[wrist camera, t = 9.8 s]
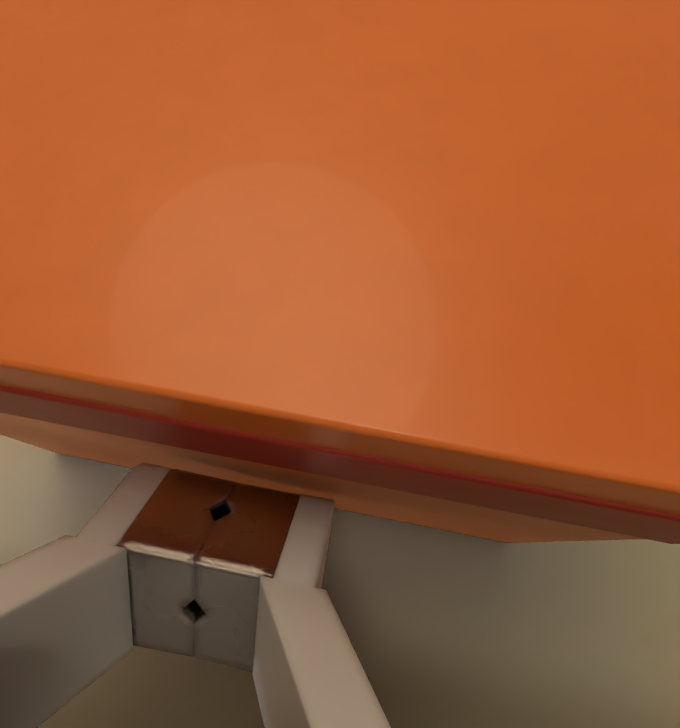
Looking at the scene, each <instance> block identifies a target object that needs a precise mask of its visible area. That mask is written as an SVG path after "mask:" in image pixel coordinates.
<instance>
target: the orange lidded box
mask: <svg viewBox="0 0 680 728" xmlns="http://www.w3.org/2000/svg"><path fill="white" fill-rule="evenodd" d="M0 435H4V436H7V437H10V438H13V439H16V440H19V441H22V442H25V443H28V444H31V445H34V446H37V447H40V448H43V449H46V450H49V451H52V452H55V453H60V454H65V455H70V456H75V457H80V458H85V459H90V460H95V461H100V462H105V463H110V464H115V465H120V466H125V467H130V468H133V467H135V466H136V465H138V464H140V463H142V462H144V463H149V464H153V465H158V466H162V467H167V468H171V469H179V470H183V471H188V472H192V473H197V474H201V475H206V476H210V477H215V478H219V479H224V480H228V481H233V482H237V483H242V484H248V485H253V486H258V487H263V488H269V489H274V490H279V491H285V492H290V493H295V494H300V495H302V494H304V495H310V496H316V497H321V498H327V499H333V500H334V502H335V506H334V508H336V509H341V510H346V511H351V512H356V513H361V514H366V515H371V516H376V517H381V518H386V519H391V520H396V521H401V522H406V523H411V524H416V525H421V526H426V527H431V528H436V529H441V530H446V531H451V532H456V533H461V534H466V535H471V536H476V537H481V538H486V539H491V540H496V541H501V542H507V543H516V542H552V541H589V540H625V539H649V540H654V541H659V542H665V543H670V544H680V0H0Z"/></svg>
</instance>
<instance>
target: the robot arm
mask: <svg viewBox="0 0 680 728" xmlns="http://www.w3.org/2000/svg"><path fill="white" fill-rule="evenodd" d="M334 506H335V502H334V500H333V499H327V498H321V497H316V496H310V495H304V494H302V495H300V494H295V493H290V492H285V491H279V490H274V489H269V488H263V487H258V486H253V485H248V484H242V483H237V482H233V481H228V480H224V479H219V478H215V477H210V476H206V475H201V474H197V473H192V472H188V471H183V470H179V469H171V468H167V467H162V466H158V465H153V464H149V463H144V462H142V463H140V464H138V465H136V466H135V467H133V468H132V470H131V471H130V472H129V473H128V475H127V476H126V477H125V478H124V479H123V481H122V482H121V483H120V484H119V486H118V487H117V488H116V489H115V490H114V492H113V493H112V494H111V495H110V497H109V498H108V499H107V500H106V501H105V503H104V504H103V505H102V506H101V507H100V509H99V510H98V511H97V512H96V514H95V515H94V516H93V517H92V518H91V520H90V521H89V522H88V523H87V525H86V526H85V527H84V528H83V529H82V531H81V532H80V533H79V534H78V536H77V537H72V536H66V535H65V536H63V537H61V538H59V539H57V540H54V541H52V542H50V543H48V544H46V545H44V546H41V547H39V548H37V549H35V550H33V551H31V552H28V553H26V554H24V555H22V556H20V557H18V558H15V559H13V560H11V561H9V562H7V563H5V564H2V565H0V728H36V727H38V726H39V725H40V724H41V723H43V722H44V721H45V720H46V719H48V718H49V717H50V716H51V715H53V714H54V713H55V712H56V711H58V710H59V709H60V708H61V707H63V706H64V705H65V704H66V703H67V702H69V701H70V700H71V699H72V698H74V697H75V696H76V695H77V694H79V693H80V692H81V691H82V690H84V689H85V688H86V687H87V686H89V685H90V684H91V683H92V682H94V681H95V680H96V679H97V678H98V677H100V676H101V675H102V674H103V673H105V672H106V671H107V670H108V669H110V668H111V667H112V666H113V665H115V664H116V663H117V662H118V661H120V660H121V659H122V658H123V657H125V656H126V655H127V654H128V653H129V652H131V651H132V650H133V645H134V646H140V647H145V648H150V649H155V650H161V651H166V652H171V653H176V654H181V655H187V656H192V657H196V658H200V659H204V660H208V661H212V662H216V663H220V664H224V665H228V666H232V667H235V668H239V669H243V670H247V671H251V672H253V680H254V684H255V688H256V693H257V697H258V701H259V706H260V710H261V714H262V719H263V723H264V727H265V728H391V727H390V724H389V722H388V720H387V718H386V716H385V714H384V712H383V710H382V707H381V705H380V703H379V701H378V699H377V697H376V695H375V693H374V690H373V688H372V686H371V684H370V682H369V680H368V678H367V676H366V673H365V671H364V669H363V667H362V665H361V663H360V661H359V659H358V656H357V654H356V652H355V650H354V648H353V646H352V644H351V642H350V639H349V637H348V635H347V633H346V631H345V629H344V627H343V625H342V622H341V620H340V618H339V616H338V614H337V612H336V610H335V608H334V605H333V603H332V601H331V599H330V597H329V595H328V593H327V591H326V590H324V589H321V586H322V580H323V575H324V569H325V563H326V557H327V551H328V545H329V538H330V532H331V526H332V520H333V514H334Z"/></svg>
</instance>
